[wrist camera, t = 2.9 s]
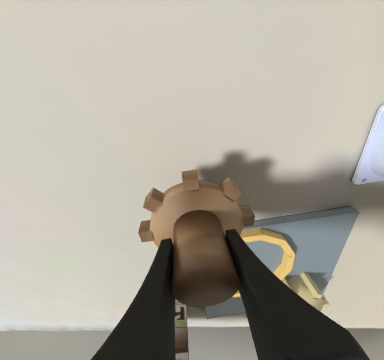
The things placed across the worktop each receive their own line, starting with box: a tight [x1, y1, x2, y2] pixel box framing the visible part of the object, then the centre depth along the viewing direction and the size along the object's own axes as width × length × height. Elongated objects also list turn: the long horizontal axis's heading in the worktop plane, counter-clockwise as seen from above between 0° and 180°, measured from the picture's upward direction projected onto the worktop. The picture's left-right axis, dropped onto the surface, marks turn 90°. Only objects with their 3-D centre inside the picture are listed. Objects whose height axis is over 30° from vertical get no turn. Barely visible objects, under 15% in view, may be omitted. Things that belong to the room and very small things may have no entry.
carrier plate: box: [205, 206, 359, 319], centre depth 23 cm, size 19×19×5 cm
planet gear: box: [139, 170, 255, 307], centre depth 12 cm, size 9×9×6 cm
